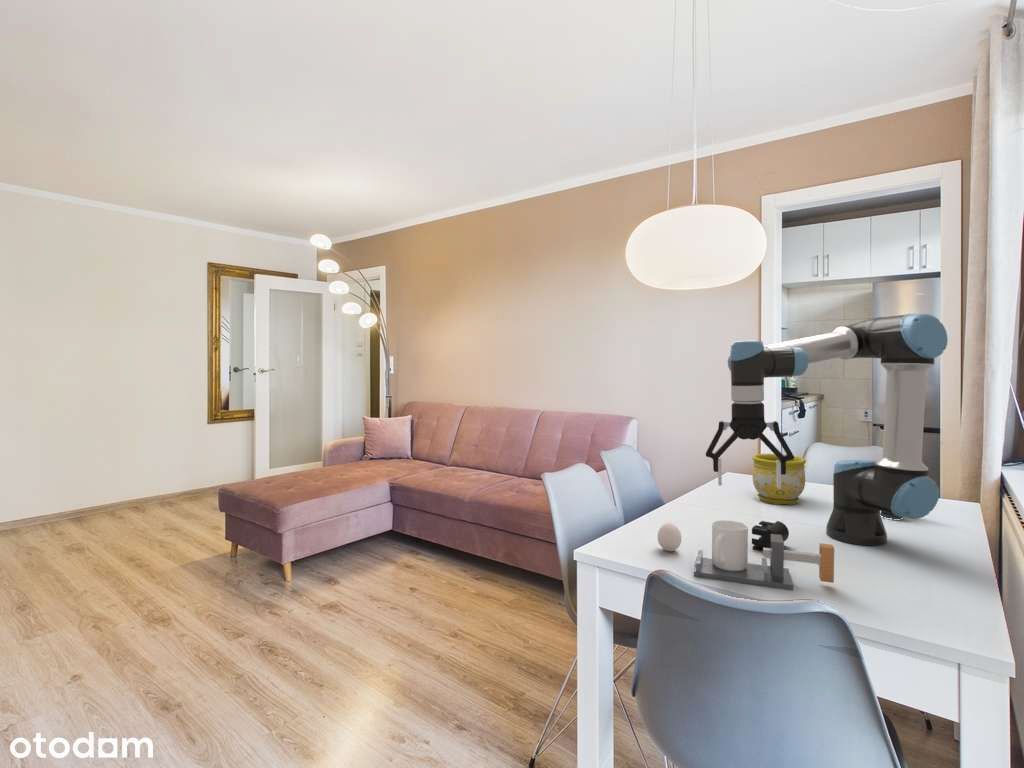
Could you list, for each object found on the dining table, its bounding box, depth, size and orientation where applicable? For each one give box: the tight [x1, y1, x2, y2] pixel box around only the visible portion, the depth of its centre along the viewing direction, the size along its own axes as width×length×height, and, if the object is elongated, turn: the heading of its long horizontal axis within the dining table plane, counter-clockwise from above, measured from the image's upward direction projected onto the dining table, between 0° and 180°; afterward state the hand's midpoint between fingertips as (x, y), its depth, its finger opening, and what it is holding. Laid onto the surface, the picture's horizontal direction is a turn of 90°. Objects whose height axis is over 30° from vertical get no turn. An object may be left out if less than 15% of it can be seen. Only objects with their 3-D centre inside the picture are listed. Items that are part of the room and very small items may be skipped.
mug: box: [711, 519, 749, 571], centre depth 132 cm, size 12×8×10 cm
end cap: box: [751, 520, 790, 552], centre depth 150 cm, size 10×7×7 cm
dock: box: [693, 534, 794, 591], centre depth 130 cm, size 22×11×10 cm, turn 67°
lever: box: [762, 543, 835, 583], centre depth 126 cm, size 15×3×8 cm, turn 67°
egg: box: [657, 521, 682, 552], centre depth 148 cm, size 6×6×8 cm
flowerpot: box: [751, 453, 807, 505], centre depth 201 cm, size 18×18×16 cm
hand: (748, 486), depth 134 cm, fingers open, 13 cm apart
